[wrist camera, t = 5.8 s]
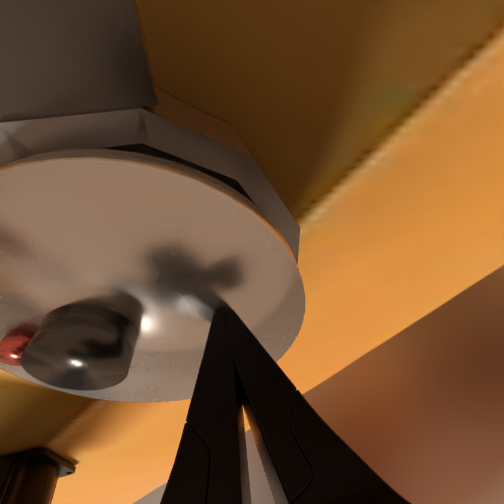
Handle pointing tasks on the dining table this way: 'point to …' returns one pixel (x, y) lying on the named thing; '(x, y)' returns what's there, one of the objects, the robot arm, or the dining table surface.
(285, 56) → the dining table surface
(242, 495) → the robot arm
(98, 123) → the pot
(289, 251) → the lid
